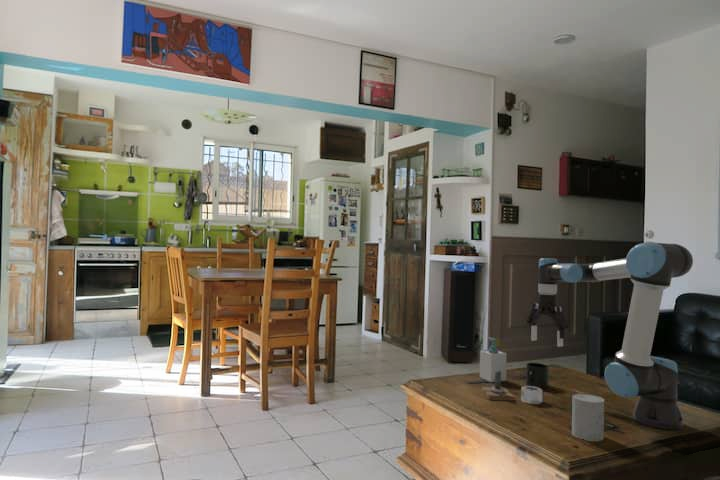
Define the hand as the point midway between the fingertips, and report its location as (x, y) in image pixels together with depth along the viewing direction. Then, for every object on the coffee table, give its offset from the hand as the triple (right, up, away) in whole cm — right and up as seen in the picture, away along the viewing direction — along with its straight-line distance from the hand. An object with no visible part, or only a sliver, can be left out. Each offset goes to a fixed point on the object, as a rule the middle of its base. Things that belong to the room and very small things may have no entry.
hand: (546, 343), depth 201 cm
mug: (-1, -22, +10) cm, 24 cm away
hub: (-11, -20, -13) cm, 27 cm away
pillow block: (-23, -20, -7) cm, 32 cm away
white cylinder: (-6, -20, -48) cm, 52 cm away
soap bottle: (-18, -21, +19) cm, 34 cm away
